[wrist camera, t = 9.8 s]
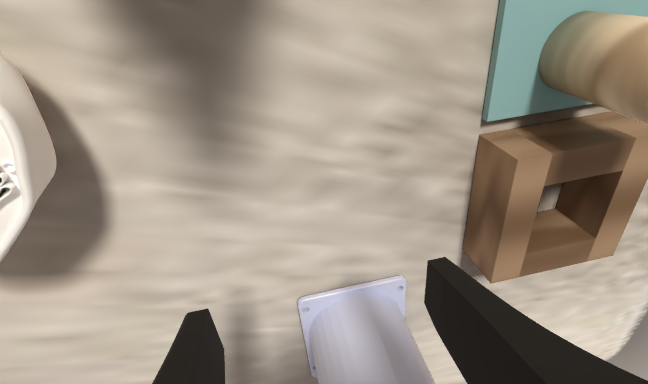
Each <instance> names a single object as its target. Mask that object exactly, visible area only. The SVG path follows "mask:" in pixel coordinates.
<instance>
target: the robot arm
mask: <svg viewBox="0 0 648 384" xmlns="http://www.w3.org/2000/svg"><path fill="white" fill-rule="evenodd" d="M406 284H407V282H406V279H405V277H404V276H401V275H399V276H394V277H390V278H385V279H381V280H376V281H371V282H367V283H362V284H358V285H353V286H349V287H344V288H340V289H335V290H331V291H326V292H322V293H317V294H312V295H308V296H303V297H301V298H300V299H299V300H298V302H297V303H298V309H299V314H300V319H301V324H302V329H303V335H304V340H305V345H306V350H307V355H308V360H309V365H310V370H311V376H312V377H314V378H317V379H318V384H435V382H434V380H433V378H432V375H431V373H430V371H429V369H428V367H427V365H426V363H425V361H424V359H423V357H422V355H421V352H420V350H419V348H418V346H417V344H416V342H415V340H414V338H413V336H412V334H411V332H410V329H409V327H408V325H407V323H406V321H405V308H406ZM399 286H400V287H399ZM424 303H425V305H426V308H427V310H428V313H429V315H430V317H431V319H432V322H433V324H434V326H435V328H436V330H437V332H438V334H439V336H440V338H441V339H442V341H443V343H444V345H445V346H446V348H447V350H448V351H449V353H450V355H451V357H452V358H453V360H454V362H455V363H456V365H457V367H458V368H459V370H460V372H461V374H462V375H463V377H464V379H465V380H466V382H467V384H648V381H647V380H644V379H642V378H640V377H638V376H635V375H633V374H631V373H629V372H627V371H625V370H623V369H620V368H618V367H616V366H614V365H612V364H610V363H608V362H606V361H604V360H602V359H600V358H598V357H596V356H594V355H592V354H590V353H589V352H587V351H585V350H583V349H581V348H579V347H577V346H575V345H574V344H572V343H570V342H568V341H567V340H565V339H563V338H561V337H560V336H558V335H556V334H554V333H553V332H551V331H549V330H548V329H546V328H544V327H543V326H541V325H539V324H538V323H536V322H535V321H533V320H532V319H530V318H528V317H527V316H525V315H524V314H522V313H521V312H519V311H518V310H516V309H515V308H513V307H512V306H510V305H509V304H508V303H506V302H505V301H503V300H502V299H501V298H499V297H498V296H496V295H495V294H493V293H492V292H491V291H489V290H488V289H487V288H485V287H484V286H483V285H481V284H480V283H479V282H477V281H476V280H475V279H473V278H472V277H471V276H469V275H468V274H467V273H465V272H464V271H463V270H462V269H460V268H459V267H458V266H456V265H455V264H454V263H452V262H451V261H450V260H448V259H447V258H446V257H443V258H438V259H434V260H429V261H428V265H427V277H426V289H425V301H424ZM305 307H307V308H305ZM152 384H225V361H224V348H223V345H222V343H221V340H220V338H219V335H218V332H217V330H216V327H215V325H214V322H213V320H212V317H211V315H210V312H209V310H208V309H204V310H199V311H194V312H190V313H187V315H186V316H185V318H184V320H183V322H182V325H181V327H180V329H179V331H178V333H177V336H176V338H175V340H174V342H173V344H172V346H171V348H170V350H169V352H168V354H167V356H166V358H165V360H164V362H163V364H162V366H161V368H160V370H159V372H158V374H157V376H156V378H155V379H154V381H153V383H152Z"/></svg>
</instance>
